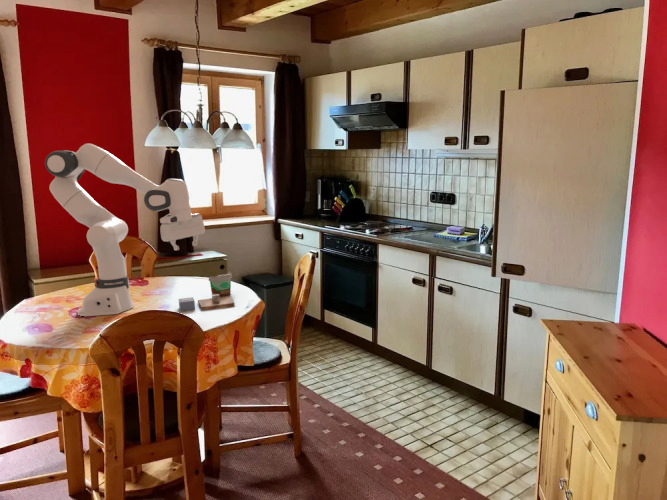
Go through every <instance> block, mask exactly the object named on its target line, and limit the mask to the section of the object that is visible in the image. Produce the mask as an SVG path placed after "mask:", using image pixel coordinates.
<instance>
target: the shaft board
mask: <svg viewBox="0 0 667 500" xmlns="http://www.w3.org/2000/svg"><path fill="white" fill-rule="evenodd" d="M197 304H198V305H199V307H200V309H201V311H207V310H208V311H209V310H215V309H224V308H231V307H236V305H235V304H236V303H235V301H234V300H233V299H232V297H231V296H230V295H229V296H225V297H220V296H219V294H217V295H212V294H211V298H205V299H204V298H203V299H198V300H197Z"/></svg>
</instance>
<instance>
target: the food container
mask: <svg viewBox="0 0 667 500" xmlns="http://www.w3.org/2000/svg"><path fill="white" fill-rule="evenodd" d="M232 278H233V276H232V272H230V271H227V273H223V274H218V275H216V276H209V277H208V281H209V284H210V290H211V296H212V295H217V294H219V296H220V297H227V296H230V295H231V292H232V291H231V286H232V285H231V284H232V282H231V280H232Z"/></svg>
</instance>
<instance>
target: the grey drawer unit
mask: <svg viewBox="0 0 667 500" xmlns="http://www.w3.org/2000/svg"><path fill="white" fill-rule="evenodd" d="M178 307H179V310H180V312H189V311H195V310H196V303H195V299H194V297H191V296H190V297H184V298H178Z"/></svg>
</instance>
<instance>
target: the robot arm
mask: <svg viewBox="0 0 667 500" xmlns="http://www.w3.org/2000/svg"><path fill="white" fill-rule="evenodd" d="M44 166H45V169H46V171H47V172H48V173H49V174H51V175H52V176H54V178H53V180H52V181H51V182H50V184H49V187H48V188H49V191H50V193H51V195H52V196H53V198H54V199H55V200H56V201H57V202H58V203H59V204H60V206H61V207H62V208H63V209H64V210H65V211H66V212H68V214H69V215H70V216H72V218H74V219H75V221H76V222H78V223H80V224H82V225H84V226H86V227H87V228H89V229H88V230H87V233H86V239H87V243H88V244H89V245H90V246H91V247H92V251H93V253H94V256H95V258H96V262H97V271H98V277H95V278H94V279H93V283H94V288H93V289H92V290H91V291H89V293H87V294H86V295H85V296H84V298H83V301H82V305H81V307H80V308H78V310H77V316H79V315H80V316H79V317H81V316H84V317H95V316H97V317H98V316H105V315H106V316H107V315H109V316H110V315H118V314H120V313H123V312H125V311H128V310H131V309H132V308H134V303H133V300H132V297H131V293H130V283H129V282H130V281H129V275H127V267H126V257H125V256H124V255H123V253H122V252H121V251H122V250H121V247H120V242H122V241H123V240H125V238H126V237H127V235H128V233H129V227H128V224H127V223H126V221H125V220H123V219H120V218H118V217H117V216H115V215H114V214H113V213H111V212H110V211H108V210H107V209H106V208H105V207H103V206H102V205H101V204H99V203H98V202H97V201H96V200H94V199H95V198H93V197H92V196H91V195H90V194H89V193H88V192H87V191H86V190H85V189H84V188H83V187H82V186H81V185H80V184H79V183H78V181H80V179H81V177H82V176H83V174H84V173H85V172H86V171H88V172H90V173H91V174H93V175H95V176H96V177H97V178H100V179H101V180H103V181H105V182H108V183H110V184H118V185H125V186H128V187H131V188H134V189H135V190H137V191H138V192H140V193H141V194H144V197H143V202H144V205H145V207H146V208H147V209H148V210H150V211H153V212H160V211H165V210H169V213H168V214H165V216H163V217H160V219H159V221H160V224H161V225H160V227H159V228H160V229H159V230H160V238H161V241H163V242H167V243H170V244H171V246H172V247H173V251H180V246H179V245H177V244H176V243H177V242H176V241H177V240H182V239H185V238H186V239H187V238H191V237H193V241H192V242H191V243H192V247H196V246H198V241H199V236H200V235H204V234H205V232H206V227H205V224H204V221H203V216H202V214H200V213H197V212H196V213H192V210H191V209H192V208H191V205H190V194H189V191H188V186H187V183H186V181H184V180H183V179H181V178H167V179H166V180H165V181H164V182H162V183H161V184H160V185H158V184H157V183H154V181H152V180H149V179H148V178H146V177H145V176H143V175H141V174H139V173H138V172H136V171H135V170H134V169H132V168H131V167H130V166H128V165H127V164H125V162H123V161H122V160H121V159H119V158H118V157H117V156H115V155H114V154H112V153H110V152H109V151H107V150H105V149H104V148H103V147H100V146H97V145H95V144H93V143H84V144H83V145H81V146H80V147H79V148H78V150H77V151H71V150H67V149H65V150H54V151H52V152H50V153H48V155H46V157H45V160H44Z"/></svg>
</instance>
